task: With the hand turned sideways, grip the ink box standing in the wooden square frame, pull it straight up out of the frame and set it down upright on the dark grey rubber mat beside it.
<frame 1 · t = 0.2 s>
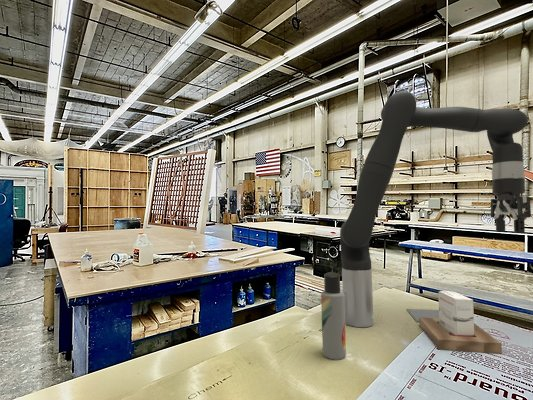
hand: (509, 232, 85), 28 cm above the workbench, tool pointing down, fingers open, 8 cm apart
lotion bottle: (334, 355, 72), on the workbench
ink box: (456, 339, 79), resting in wooden square frame
grey mat: (433, 316, 96), on the workbench
wooden square frame: (455, 338, 79), on the workbench
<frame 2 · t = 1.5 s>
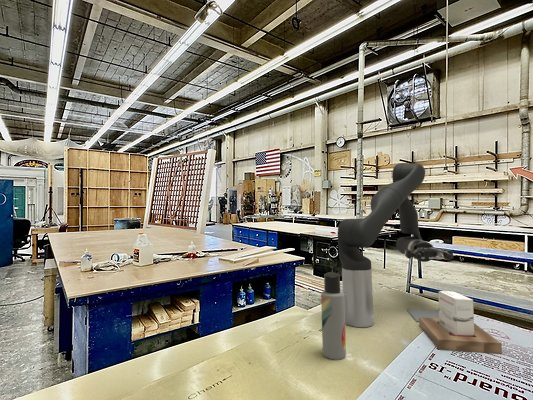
hand: (434, 257, 94), 20 cm above the workbench, tool horizontal, fingers open, 8 cm apart
nothing on the workbench moved.
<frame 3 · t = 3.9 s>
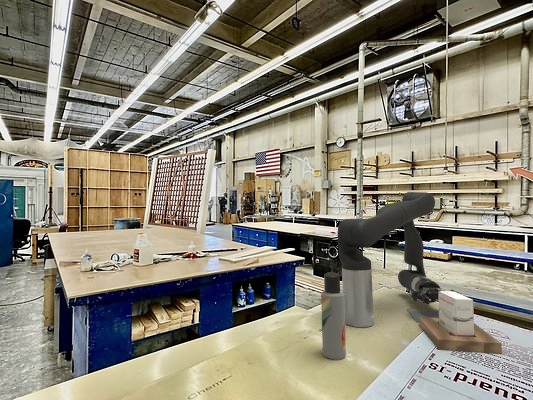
hand: (443, 302, 87), 8 cm above the workbench, tool horizontal, fingers open, 8 cm apart
nothing on the workbench moved.
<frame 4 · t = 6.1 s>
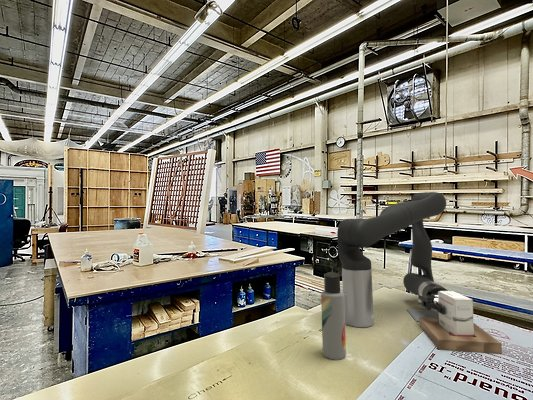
hand: (456, 311, 79), 8 cm above the workbench, tool horizontal, fingers closed on ink box, 5 cm apart
ink box: (456, 338, 79), resting in wooden square frame, touching gripper
everything else where it was.
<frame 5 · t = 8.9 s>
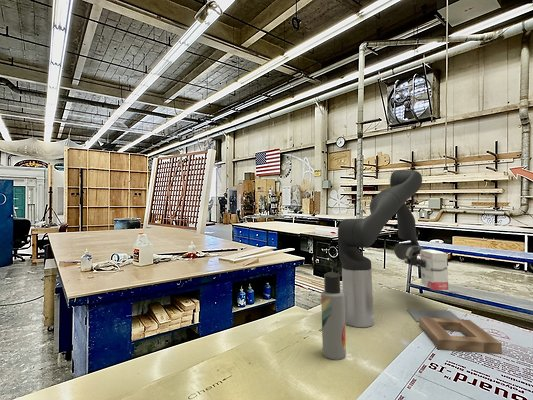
hand: (434, 264, 94), 18 cm above the workbench, tool horizontal, fingers closed on ink box, 5 cm apart
ink box: (434, 287, 95), point 10 cm above the workbench, touching gripper
everything else where it was.
when the fingers open (9 cm above the workbench, at t = 11.7 s): ink box drops 1 cm, resting on grey mat.
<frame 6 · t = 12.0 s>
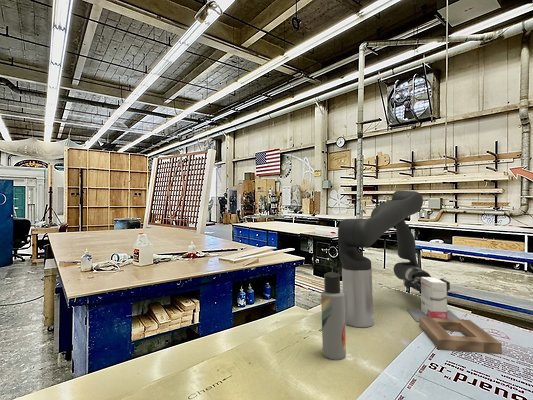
hand: (432, 288, 96), 9 cm above the workbench, tool horizontal, fingers open, 8 cm apart
ink box: (434, 315, 96), resting on grey mat
everything else where it was.
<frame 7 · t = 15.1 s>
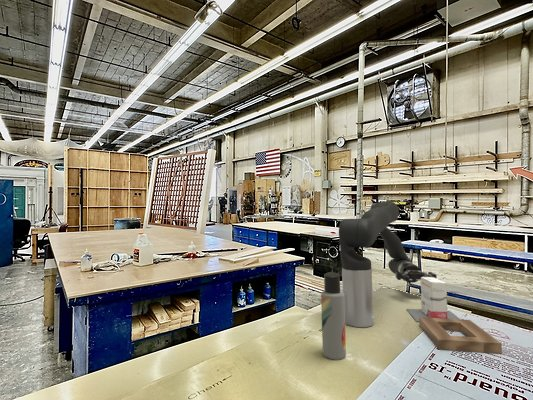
hand: (420, 280, 109), 9 cm above the workbench, tool horizontal, fingers open, 8 cm apart
nothing on the workbench moved.
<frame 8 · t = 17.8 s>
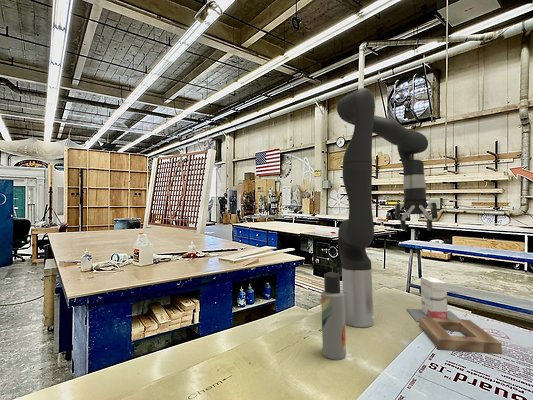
hand: (416, 230, 108), 28 cm above the workbench, tool pointing down, fingers open, 8 cm apart
nothing on the workbench moved.
at the end: ink box inside the target area (0.3 cm from its centre), resting on grey mat; ink box tilted 0°; the gripper is holding nothing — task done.
